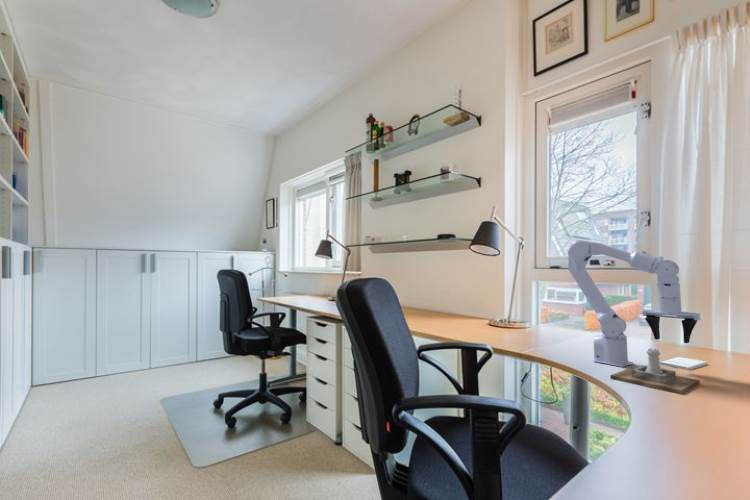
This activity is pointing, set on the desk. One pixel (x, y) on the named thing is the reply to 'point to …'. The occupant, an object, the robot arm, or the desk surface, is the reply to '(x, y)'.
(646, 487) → the desk surface
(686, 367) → the external hard drive
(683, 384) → the socket board
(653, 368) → the rook chess piece
